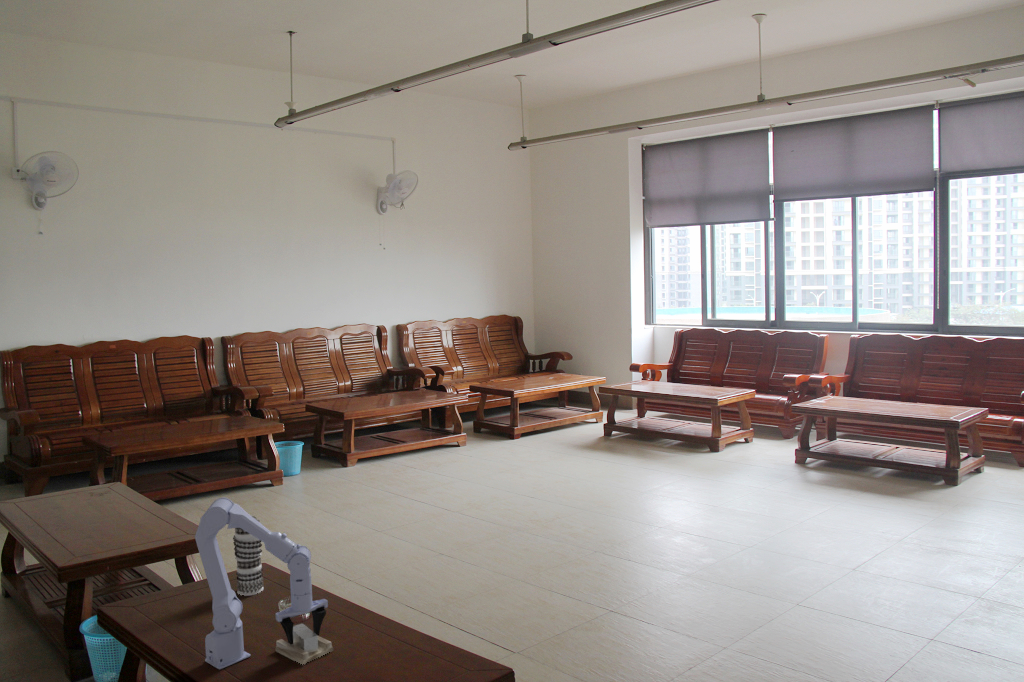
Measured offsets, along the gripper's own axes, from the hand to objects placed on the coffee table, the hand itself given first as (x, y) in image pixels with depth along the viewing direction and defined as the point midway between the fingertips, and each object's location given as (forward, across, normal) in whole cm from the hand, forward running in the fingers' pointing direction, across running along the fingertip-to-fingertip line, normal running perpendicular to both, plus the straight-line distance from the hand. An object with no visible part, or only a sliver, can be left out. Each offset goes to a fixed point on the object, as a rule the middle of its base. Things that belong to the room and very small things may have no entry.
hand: (303, 638), depth 218 cm
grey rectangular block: (+2, 0, 0) cm, 2 cm away
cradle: (+4, 0, 0) cm, 4 cm away
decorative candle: (+4, -4, -53) cm, 53 cm away
